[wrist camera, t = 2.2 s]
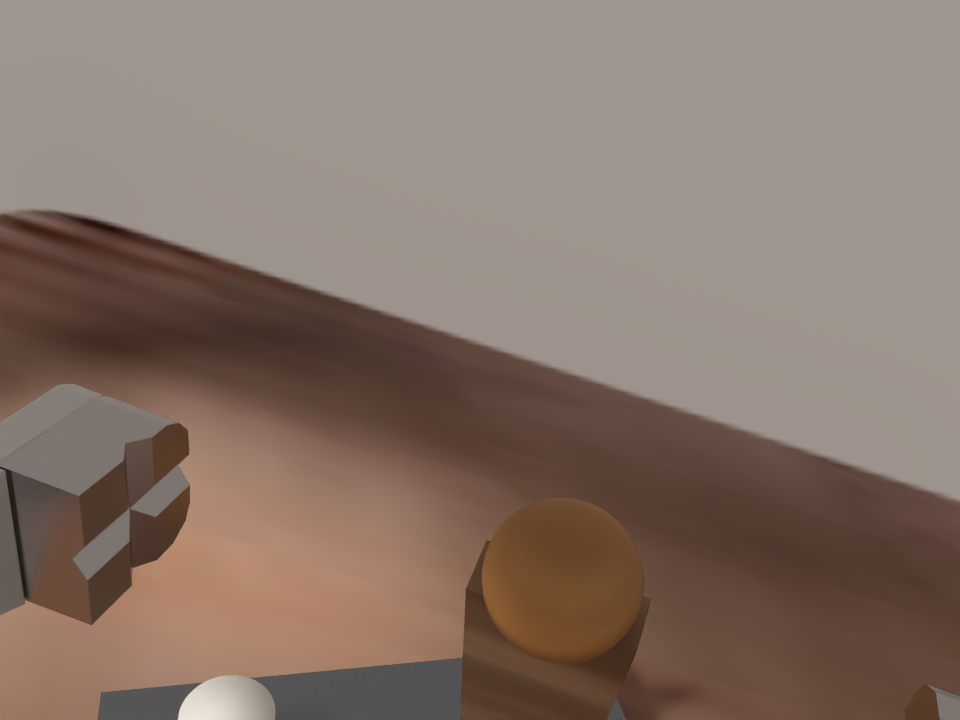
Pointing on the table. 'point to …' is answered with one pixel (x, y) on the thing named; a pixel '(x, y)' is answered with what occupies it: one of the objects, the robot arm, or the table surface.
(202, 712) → the button
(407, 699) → the panel
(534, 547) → the lever
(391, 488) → the table surface
